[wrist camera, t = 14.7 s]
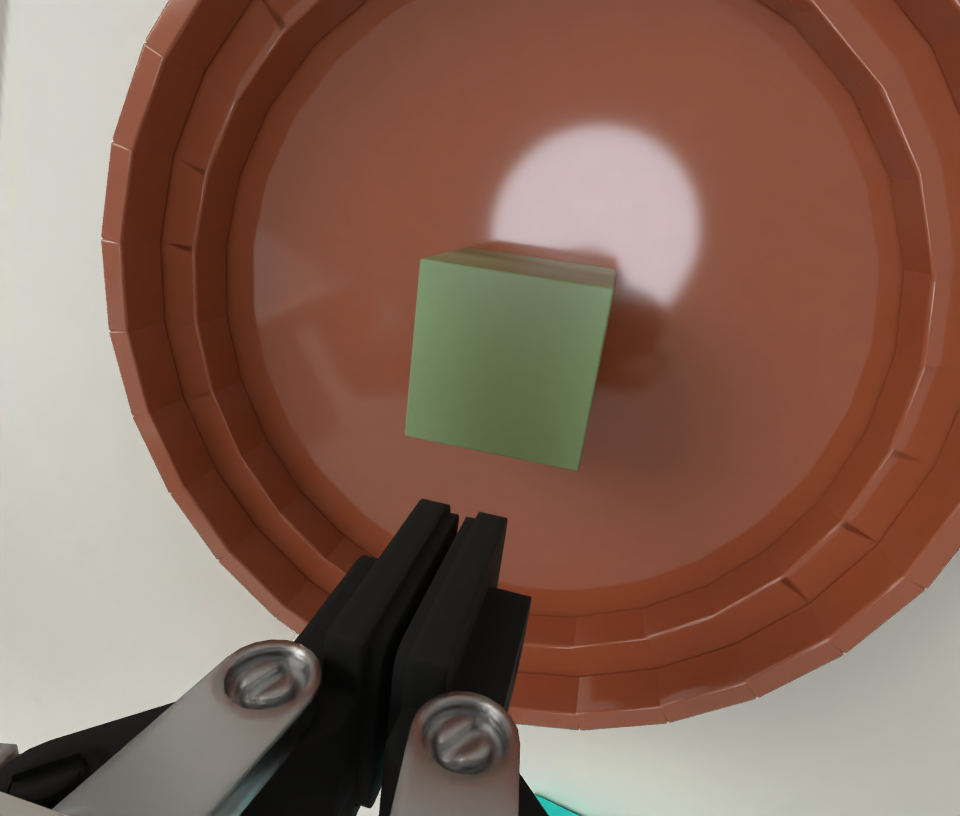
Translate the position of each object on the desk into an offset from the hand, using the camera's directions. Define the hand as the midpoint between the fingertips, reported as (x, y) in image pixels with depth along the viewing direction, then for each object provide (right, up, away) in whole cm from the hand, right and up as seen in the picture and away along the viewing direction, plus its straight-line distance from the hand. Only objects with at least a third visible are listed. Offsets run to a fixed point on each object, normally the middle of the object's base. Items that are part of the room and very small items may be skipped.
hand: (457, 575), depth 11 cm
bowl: (+2, +5, +6) cm, 8 cm away
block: (+2, +5, +5) cm, 8 cm away
